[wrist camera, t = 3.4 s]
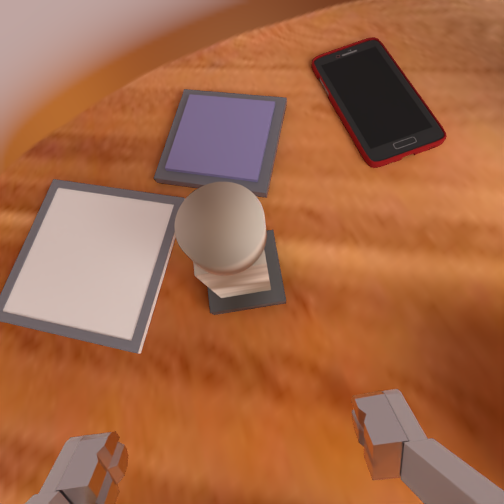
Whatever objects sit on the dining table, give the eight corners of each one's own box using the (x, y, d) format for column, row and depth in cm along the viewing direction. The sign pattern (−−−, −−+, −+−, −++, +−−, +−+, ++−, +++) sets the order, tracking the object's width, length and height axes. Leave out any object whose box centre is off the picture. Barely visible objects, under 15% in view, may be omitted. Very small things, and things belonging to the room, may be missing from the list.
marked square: (186, 200, 28) (184, 197, 27) (140, 353, 24) (137, 353, 23) (58, 182, 30) (53, 179, 29) (-5, 319, 26) (-11, 318, 25)
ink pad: (286, 104, 30) (286, 94, 29) (266, 197, 27) (266, 190, 26) (186, 95, 32) (183, 86, 31) (157, 182, 29) (151, 175, 28)
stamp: (273, 236, 26) (268, 161, 16) (285, 303, 24) (289, 268, 14) (207, 247, 26) (158, 181, 16) (214, 314, 24) (163, 289, 14)
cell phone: (369, 172, 27) (372, 166, 26) (308, 66, 32) (308, 57, 31) (445, 145, 28) (451, 138, 27) (373, 43, 32) (376, 34, 31)
